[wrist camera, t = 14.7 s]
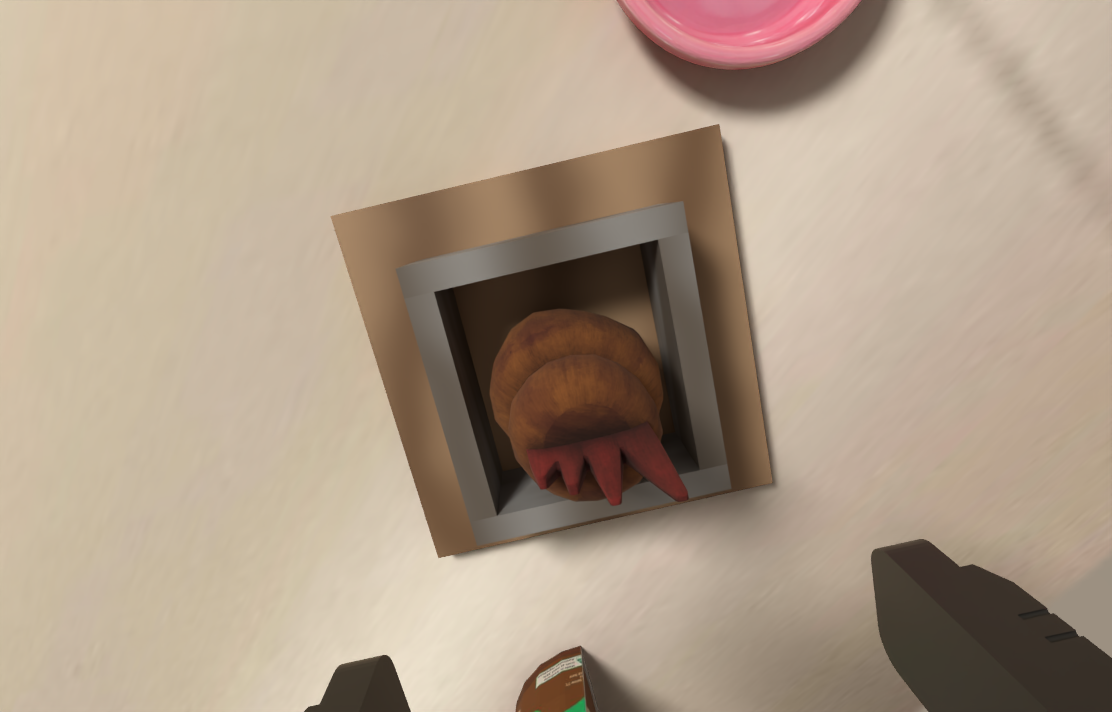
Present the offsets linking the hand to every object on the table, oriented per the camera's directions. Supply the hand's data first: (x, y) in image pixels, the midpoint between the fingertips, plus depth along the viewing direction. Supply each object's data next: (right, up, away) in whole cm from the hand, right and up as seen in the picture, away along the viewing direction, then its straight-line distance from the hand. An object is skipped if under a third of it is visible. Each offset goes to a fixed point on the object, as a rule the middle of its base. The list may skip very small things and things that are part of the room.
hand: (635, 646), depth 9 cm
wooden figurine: (-1, +5, +19) cm, 19 cm away
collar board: (-1, +5, +20) cm, 20 cm away
